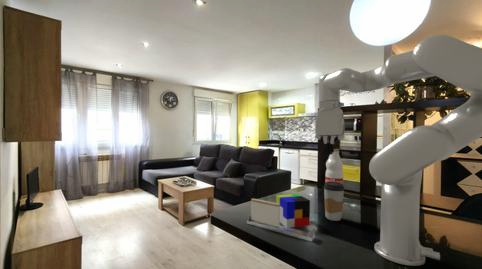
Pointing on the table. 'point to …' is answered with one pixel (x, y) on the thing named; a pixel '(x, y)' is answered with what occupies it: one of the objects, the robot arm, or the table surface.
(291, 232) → the rail
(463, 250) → the table surface
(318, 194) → the table surface
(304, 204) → the puzzle toy
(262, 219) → the screen
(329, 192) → the coffee cup
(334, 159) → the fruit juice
